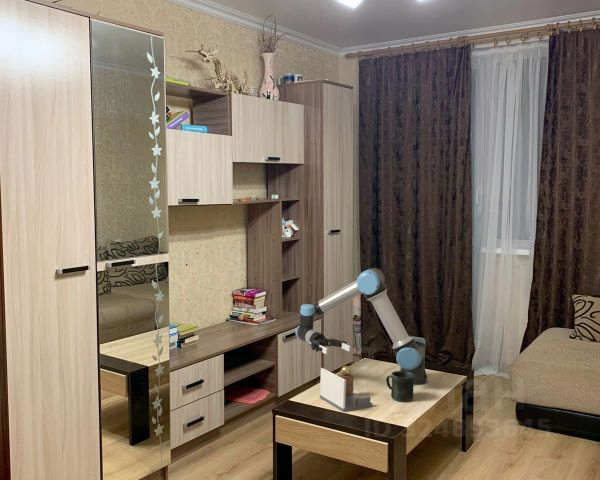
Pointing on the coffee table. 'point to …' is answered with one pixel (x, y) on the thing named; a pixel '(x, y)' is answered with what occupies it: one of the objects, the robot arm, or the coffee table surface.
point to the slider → (347, 379)
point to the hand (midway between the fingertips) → (338, 350)
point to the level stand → (340, 393)
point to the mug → (401, 385)
